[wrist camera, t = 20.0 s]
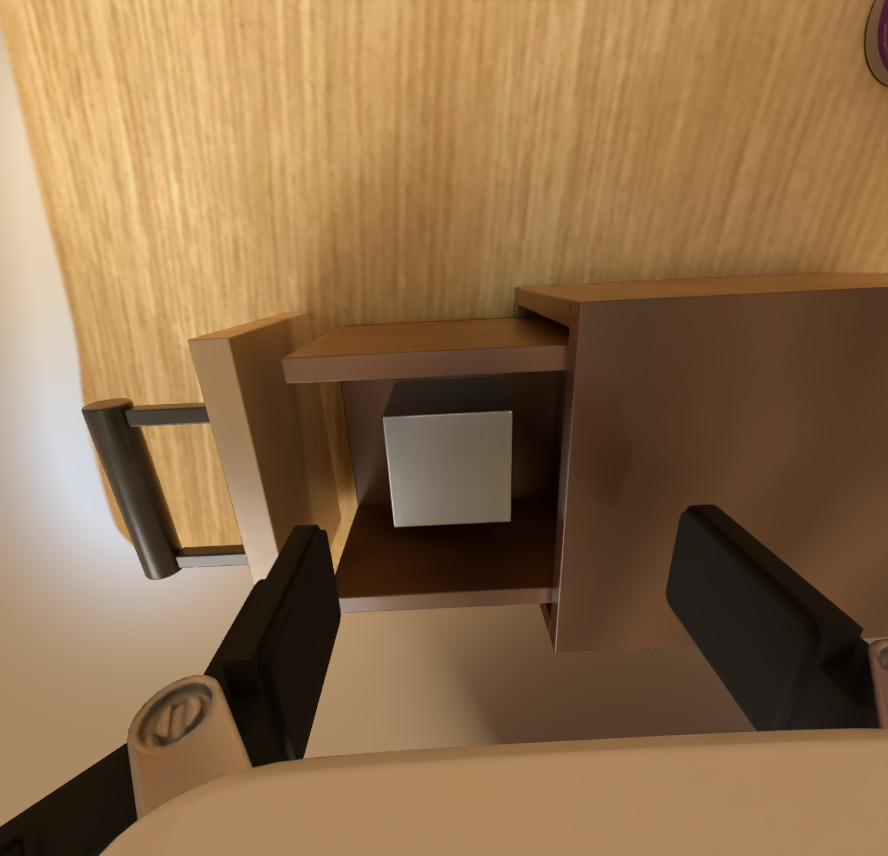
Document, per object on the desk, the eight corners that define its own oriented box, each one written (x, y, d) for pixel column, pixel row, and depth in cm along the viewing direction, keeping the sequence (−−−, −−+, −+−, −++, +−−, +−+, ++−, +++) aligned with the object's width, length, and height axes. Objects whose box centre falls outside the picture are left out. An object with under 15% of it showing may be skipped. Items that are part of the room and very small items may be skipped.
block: (512, 522, 16) (393, 528, 16) (496, 468, 21) (402, 473, 21) (514, 409, 15) (381, 416, 15) (496, 377, 19) (394, 382, 19)
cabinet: (511, 511, 24) (554, 653, 15) (514, 287, 20) (579, 301, 11) (757, 499, 24) (945, 634, 15) (818, 272, 20) (1138, 274, 11)
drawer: (234, 524, 23) (141, 641, 16) (177, 318, 19) (17, 347, 12) (558, 509, 23) (613, 618, 16) (571, 298, 19) (654, 317, 12)
